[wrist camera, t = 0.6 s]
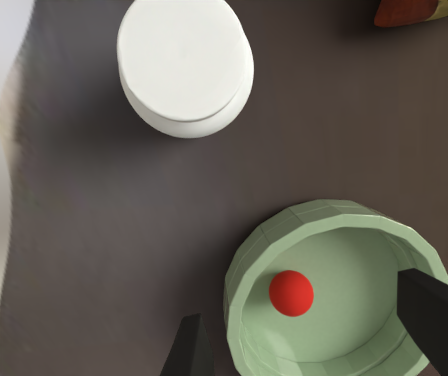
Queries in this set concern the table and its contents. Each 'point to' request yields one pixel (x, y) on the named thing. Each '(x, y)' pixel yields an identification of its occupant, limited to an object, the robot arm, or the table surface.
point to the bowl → (326, 293)
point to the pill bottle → (184, 65)
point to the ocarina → (409, 12)
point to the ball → (291, 293)
